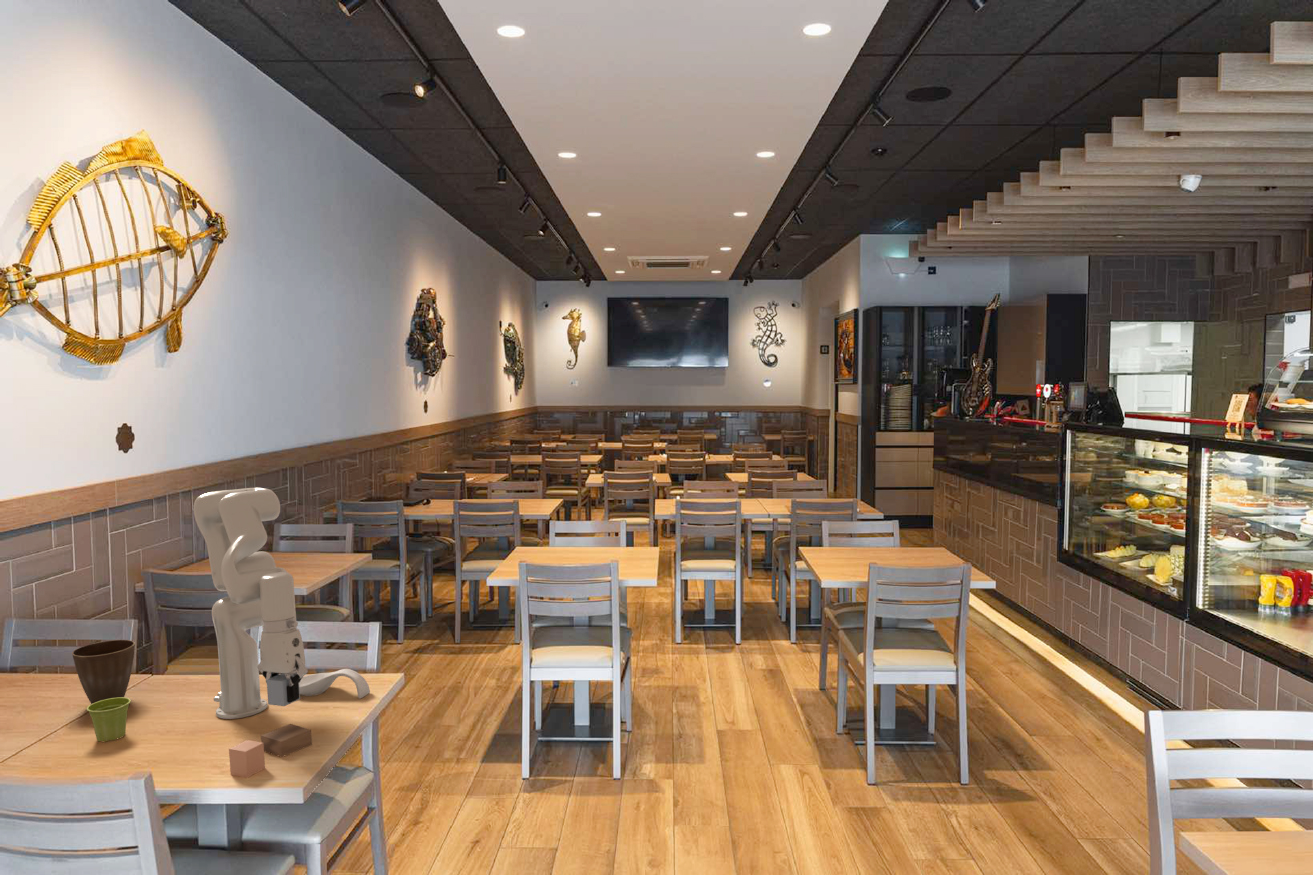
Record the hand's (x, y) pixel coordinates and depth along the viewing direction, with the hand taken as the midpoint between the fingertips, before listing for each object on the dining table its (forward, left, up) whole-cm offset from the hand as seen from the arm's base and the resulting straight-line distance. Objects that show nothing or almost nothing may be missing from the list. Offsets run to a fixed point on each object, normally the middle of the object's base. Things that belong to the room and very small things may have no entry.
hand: (284, 698), depth 207 cm
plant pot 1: (-74, +8, -12) cm, 76 cm away
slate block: (0, 0, -1) cm, 1 cm away
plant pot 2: (-49, -9, -12) cm, 52 cm away
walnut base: (0, 0, -12) cm, 12 cm away
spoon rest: (-17, +33, -13) cm, 40 cm away
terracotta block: (+1, -13, -12) cm, 18 cm away
